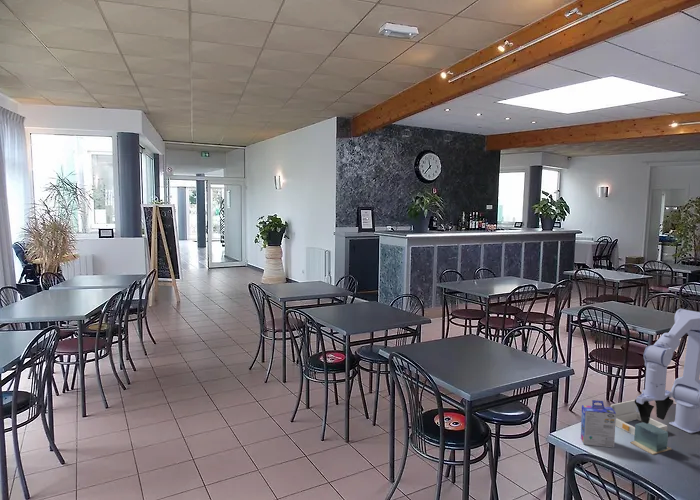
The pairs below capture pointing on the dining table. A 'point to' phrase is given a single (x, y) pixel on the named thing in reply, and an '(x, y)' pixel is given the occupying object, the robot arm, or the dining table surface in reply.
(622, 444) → the dining table surface
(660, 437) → the block
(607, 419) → the ink cartridge box
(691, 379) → the robot arm
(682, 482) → the dining table surface
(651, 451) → the oak pad
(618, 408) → the case lid
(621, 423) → the case
